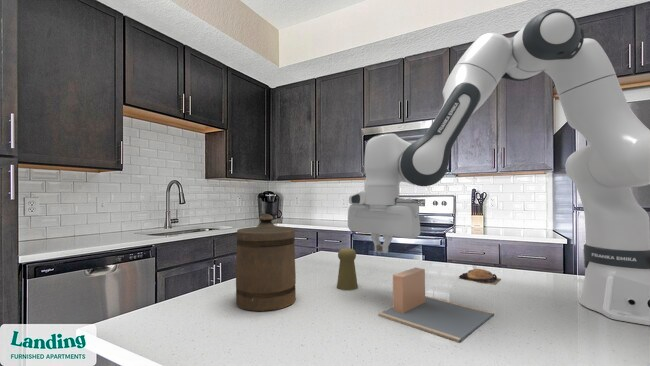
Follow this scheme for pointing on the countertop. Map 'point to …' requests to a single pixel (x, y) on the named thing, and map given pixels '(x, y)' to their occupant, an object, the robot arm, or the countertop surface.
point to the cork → (347, 270)
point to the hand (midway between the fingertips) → (381, 252)
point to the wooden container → (265, 266)
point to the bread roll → (480, 276)
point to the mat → (441, 318)
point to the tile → (408, 289)
